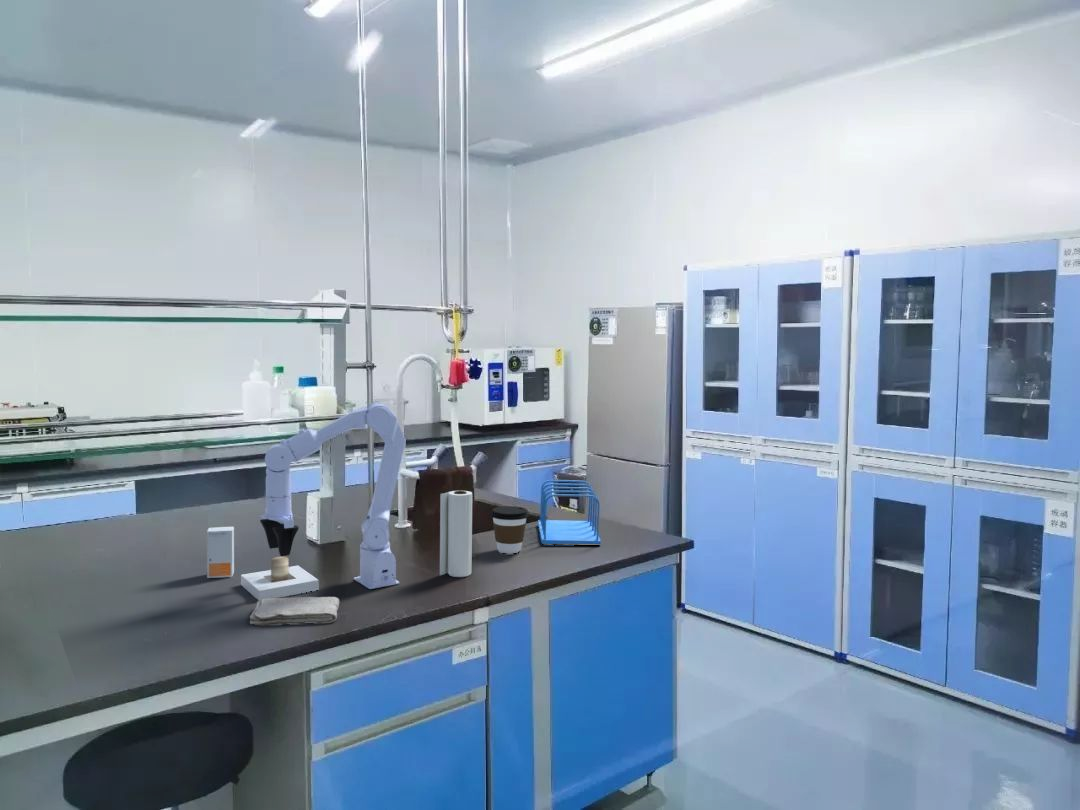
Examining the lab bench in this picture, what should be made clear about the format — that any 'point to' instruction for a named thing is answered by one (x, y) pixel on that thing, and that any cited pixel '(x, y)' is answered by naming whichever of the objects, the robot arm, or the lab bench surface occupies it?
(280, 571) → the birch peg
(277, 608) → the washcloth
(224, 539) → the skincare box
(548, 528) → the file sorter
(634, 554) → the lab bench surface
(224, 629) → the lab bench surface
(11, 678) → the lab bench surface
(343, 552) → the lab bench surface
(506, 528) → the coffee cup
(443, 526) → the paper towel roll
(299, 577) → the socket block
